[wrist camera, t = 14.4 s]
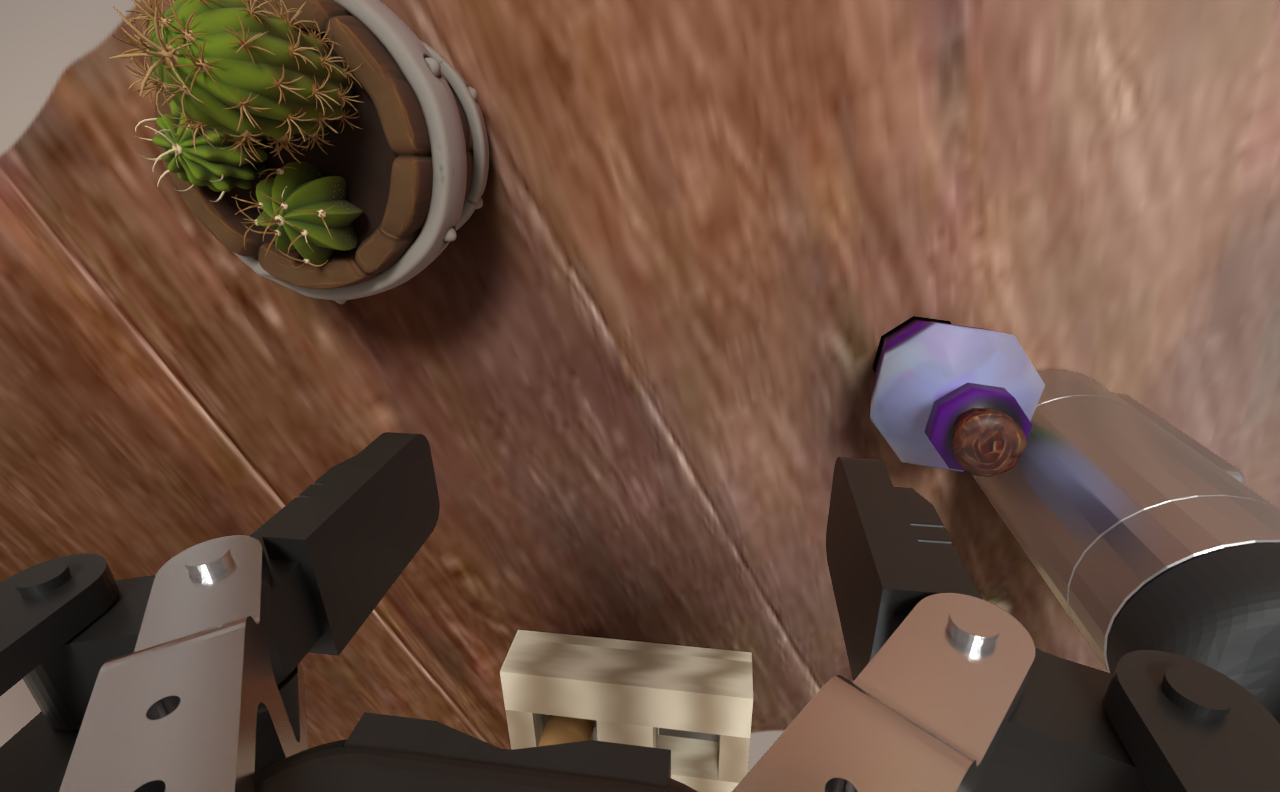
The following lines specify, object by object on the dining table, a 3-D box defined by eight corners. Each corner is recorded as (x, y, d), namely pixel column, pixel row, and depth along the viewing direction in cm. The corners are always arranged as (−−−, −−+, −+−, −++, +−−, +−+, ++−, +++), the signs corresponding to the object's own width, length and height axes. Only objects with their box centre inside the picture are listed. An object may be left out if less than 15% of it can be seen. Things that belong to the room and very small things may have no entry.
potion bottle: (998, 405, 39) (1102, 512, 28) (859, 431, 41) (904, 540, 30) (987, 275, 36) (1098, 337, 25) (837, 310, 38) (878, 382, 27)
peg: (598, 692, 52) (557, 839, 42) (598, 724, 54) (559, 873, 43) (554, 684, 53) (502, 827, 42) (555, 716, 55) (505, 861, 44)
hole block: (751, 652, 50) (753, 699, 46) (743, 766, 55) (743, 817, 51) (518, 629, 52) (499, 671, 48) (532, 740, 58) (517, 786, 54)
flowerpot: (452, 309, 41) (232, 447, 23) (259, 157, 39) (-151, 179, 21) (575, 129, 36) (411, 127, 18) (358, -61, 33) (-89, -290, 15)
